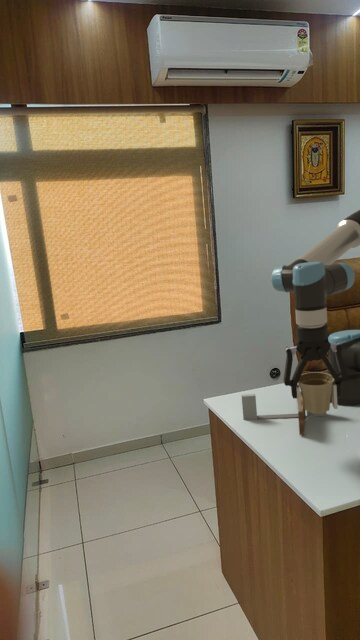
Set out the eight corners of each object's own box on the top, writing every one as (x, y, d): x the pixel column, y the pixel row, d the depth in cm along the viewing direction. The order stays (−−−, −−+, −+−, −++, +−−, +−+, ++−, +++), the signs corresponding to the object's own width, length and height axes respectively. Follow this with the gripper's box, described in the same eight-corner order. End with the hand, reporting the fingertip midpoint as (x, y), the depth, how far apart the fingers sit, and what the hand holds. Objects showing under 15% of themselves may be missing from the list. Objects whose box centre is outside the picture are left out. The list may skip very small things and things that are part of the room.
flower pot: (311, 420, 103) (309, 388, 101) (291, 406, 112) (289, 376, 110) (343, 411, 105) (342, 380, 104) (321, 399, 114) (319, 369, 113)
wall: (325, 413, 132) (324, 389, 131) (326, 416, 130) (325, 392, 128) (243, 417, 136) (241, 394, 134) (243, 420, 133) (241, 397, 132)
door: (301, 413, 133) (299, 391, 131) (309, 414, 132) (308, 391, 131) (299, 435, 119) (297, 410, 118) (308, 435, 119) (306, 410, 117)
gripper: (351, 317, 106) (354, 399, 111) (267, 325, 109) (274, 404, 114) (360, 323, 99) (363, 411, 103) (270, 332, 102) (277, 416, 106)
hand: (316, 407), depth 109 cm, fingers closed on flower pot, 8 cm apart
